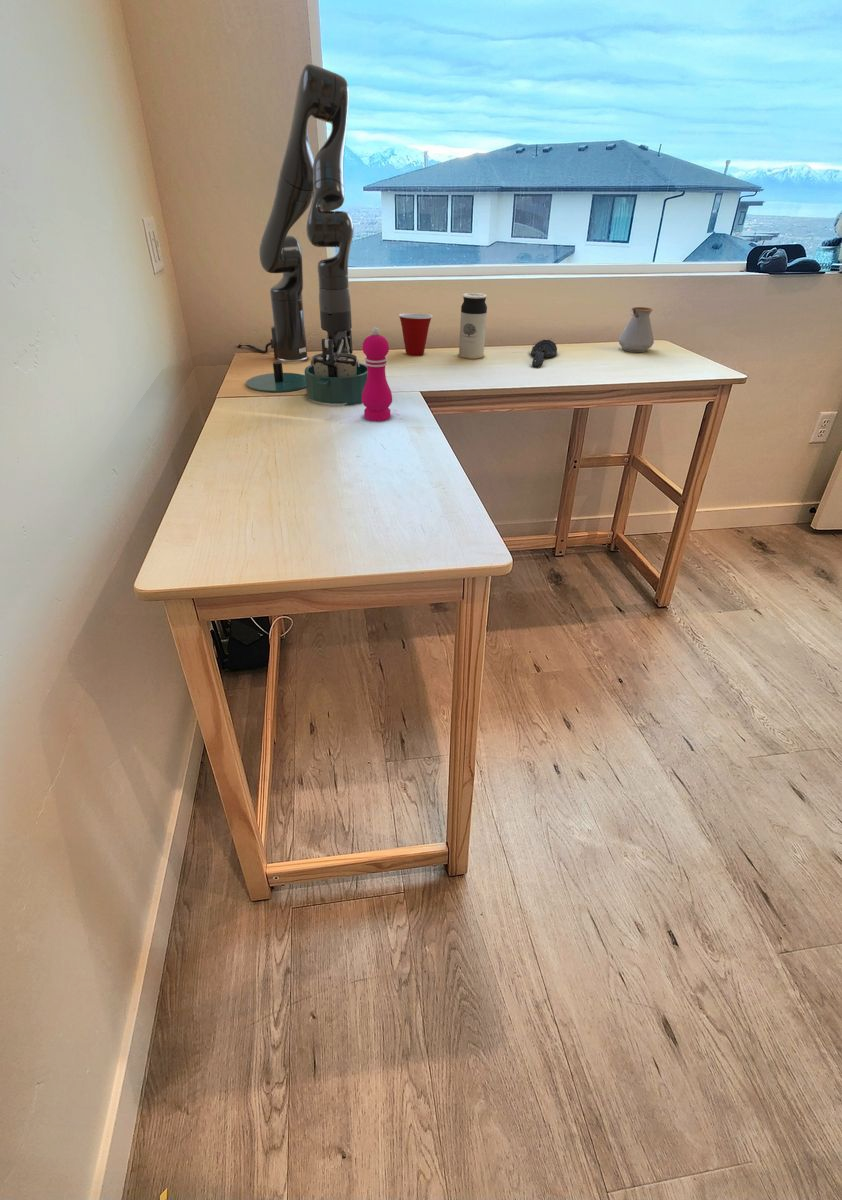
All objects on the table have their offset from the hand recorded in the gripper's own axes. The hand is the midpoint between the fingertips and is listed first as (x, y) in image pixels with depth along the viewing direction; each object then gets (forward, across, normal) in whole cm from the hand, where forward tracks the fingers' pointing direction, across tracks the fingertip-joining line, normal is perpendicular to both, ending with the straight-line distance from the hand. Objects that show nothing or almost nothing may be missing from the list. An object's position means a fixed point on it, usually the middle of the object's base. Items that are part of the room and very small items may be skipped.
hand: (339, 377), depth 158 cm
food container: (+5, 0, 0) cm, 5 cm away
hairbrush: (+5, -59, +46) cm, 75 cm away
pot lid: (+4, -4, -19) cm, 20 cm away
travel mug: (+5, -54, +24) cm, 59 cm away
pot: (+5, 0, 0) cm, 5 cm away
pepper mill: (+5, +13, +14) cm, 20 cm away
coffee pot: (+5, -76, +74) cm, 107 cm away
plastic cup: (+5, -51, +6) cm, 51 cm away
